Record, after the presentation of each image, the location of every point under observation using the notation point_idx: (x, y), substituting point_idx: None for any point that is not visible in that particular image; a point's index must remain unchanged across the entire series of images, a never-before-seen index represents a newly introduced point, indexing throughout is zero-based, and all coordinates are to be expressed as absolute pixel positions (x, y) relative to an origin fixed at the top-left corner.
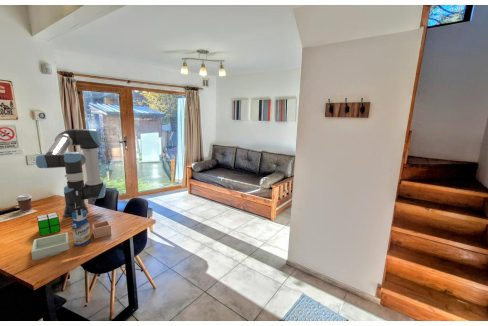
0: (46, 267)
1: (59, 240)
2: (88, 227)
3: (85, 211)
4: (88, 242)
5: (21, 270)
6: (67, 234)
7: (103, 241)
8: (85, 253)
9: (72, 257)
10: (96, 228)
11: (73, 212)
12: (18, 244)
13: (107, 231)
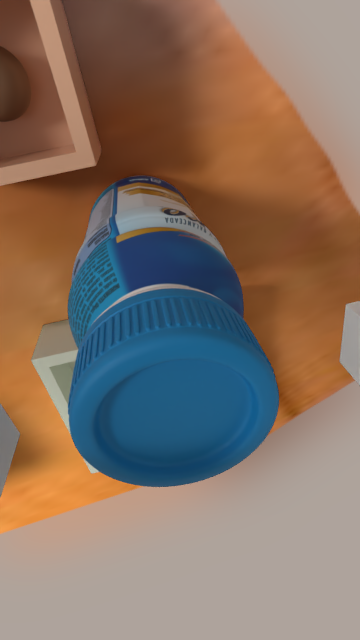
0: (318, 340)
1: (68, 367)
2: (186, 214)
3: (202, 341)
4: (177, 190)
5: (283, 409)
6: (74, 351)
7: (159, 66)
8: (289, 190)
9: (293, 255)
10: (84, 134)
11: (172, 479)
12: (34, 493)
13: (57, 6)
